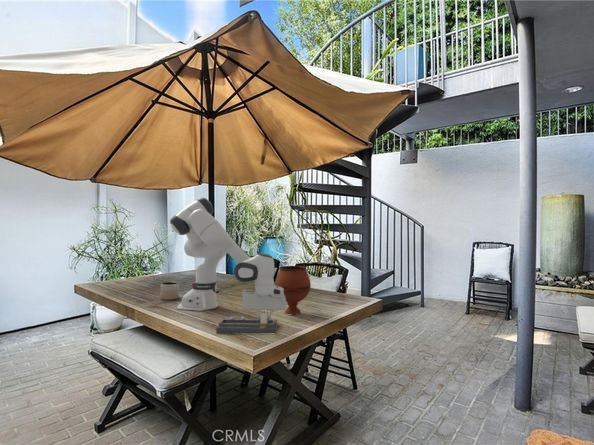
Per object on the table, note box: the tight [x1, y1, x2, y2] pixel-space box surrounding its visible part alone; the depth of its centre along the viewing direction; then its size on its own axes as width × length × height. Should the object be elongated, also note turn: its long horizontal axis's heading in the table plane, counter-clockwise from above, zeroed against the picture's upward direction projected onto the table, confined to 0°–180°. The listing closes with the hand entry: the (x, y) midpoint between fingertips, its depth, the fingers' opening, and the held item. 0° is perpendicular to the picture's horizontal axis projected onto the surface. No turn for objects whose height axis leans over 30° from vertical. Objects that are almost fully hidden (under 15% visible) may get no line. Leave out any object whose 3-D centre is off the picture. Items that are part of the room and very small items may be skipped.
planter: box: [160, 281, 180, 301], centre depth 213 cm, size 11×11×10 cm
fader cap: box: [260, 310, 269, 324], centre depth 154 cm, size 3×4×5 cm
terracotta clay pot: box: [274, 265, 311, 316], centre depth 181 cm, size 19×19×25 cm
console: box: [215, 316, 278, 334], centre depth 154 cm, size 26×13×4 cm, turn 90°
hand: (264, 319), depth 154 cm, fingers closed on fader cap, 3 cm apart
